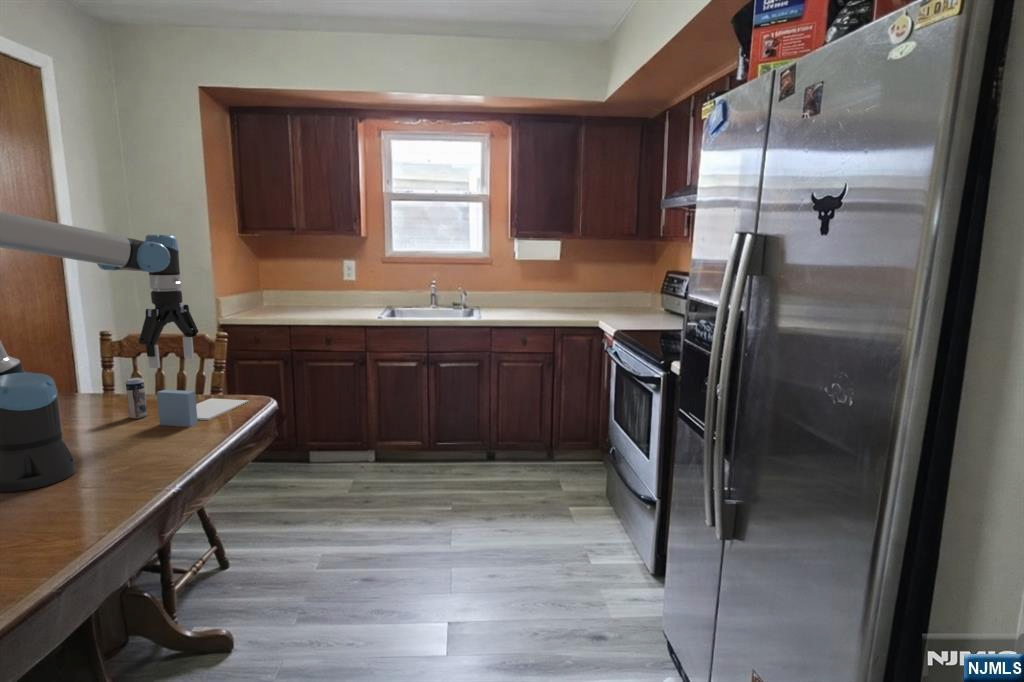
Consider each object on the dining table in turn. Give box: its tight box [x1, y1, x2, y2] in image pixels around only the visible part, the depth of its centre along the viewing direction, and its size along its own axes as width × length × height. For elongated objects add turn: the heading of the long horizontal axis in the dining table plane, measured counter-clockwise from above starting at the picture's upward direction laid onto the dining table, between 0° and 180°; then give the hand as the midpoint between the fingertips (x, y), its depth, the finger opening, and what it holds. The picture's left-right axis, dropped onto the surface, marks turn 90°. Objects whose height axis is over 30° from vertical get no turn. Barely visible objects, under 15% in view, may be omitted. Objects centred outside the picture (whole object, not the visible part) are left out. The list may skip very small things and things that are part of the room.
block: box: [156, 389, 199, 428], centre depth 163 cm, size 3×10×10 cm, turn 82°
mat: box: [196, 397, 250, 421], centre depth 178 cm, size 20×14×1 cm
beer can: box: [125, 377, 148, 420], centre depth 169 cm, size 5×5×12 cm
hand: (172, 362), depth 161 cm, fingers open, 13 cm apart
